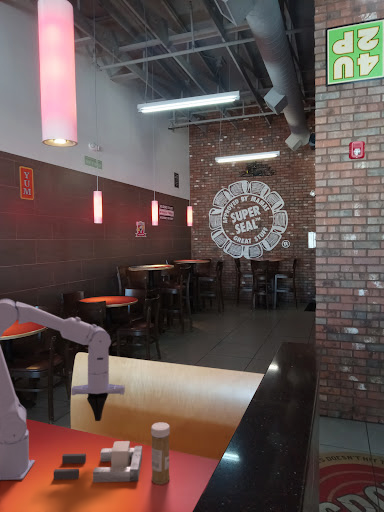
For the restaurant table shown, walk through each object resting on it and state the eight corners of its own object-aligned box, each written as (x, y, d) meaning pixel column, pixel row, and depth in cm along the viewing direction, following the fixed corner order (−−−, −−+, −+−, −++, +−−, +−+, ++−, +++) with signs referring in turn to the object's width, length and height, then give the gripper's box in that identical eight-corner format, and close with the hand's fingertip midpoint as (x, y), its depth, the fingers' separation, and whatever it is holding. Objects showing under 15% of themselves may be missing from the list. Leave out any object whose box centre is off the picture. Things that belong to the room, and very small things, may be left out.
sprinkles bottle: (173, 481, 91) (173, 426, 91) (156, 487, 89) (156, 431, 88) (164, 472, 95) (164, 419, 95) (148, 477, 92) (148, 424, 92)
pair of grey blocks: (53, 479, 92) (53, 471, 92) (63, 461, 100) (63, 454, 100) (78, 479, 92) (78, 471, 92) (85, 460, 100) (85, 453, 100)
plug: (111, 475, 94) (111, 451, 94) (114, 463, 99) (114, 441, 99) (127, 474, 94) (127, 451, 94) (129, 463, 99) (129, 441, 99)
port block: (92, 482, 91) (92, 470, 91) (101, 457, 102) (102, 446, 102) (137, 481, 91) (138, 469, 91) (142, 456, 102) (142, 445, 102)
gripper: (126, 366, 108) (126, 412, 108) (76, 367, 107) (76, 413, 108) (122, 374, 101) (122, 423, 101) (69, 375, 100) (69, 424, 101)
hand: (98, 419), depth 104 cm, fingers closed
